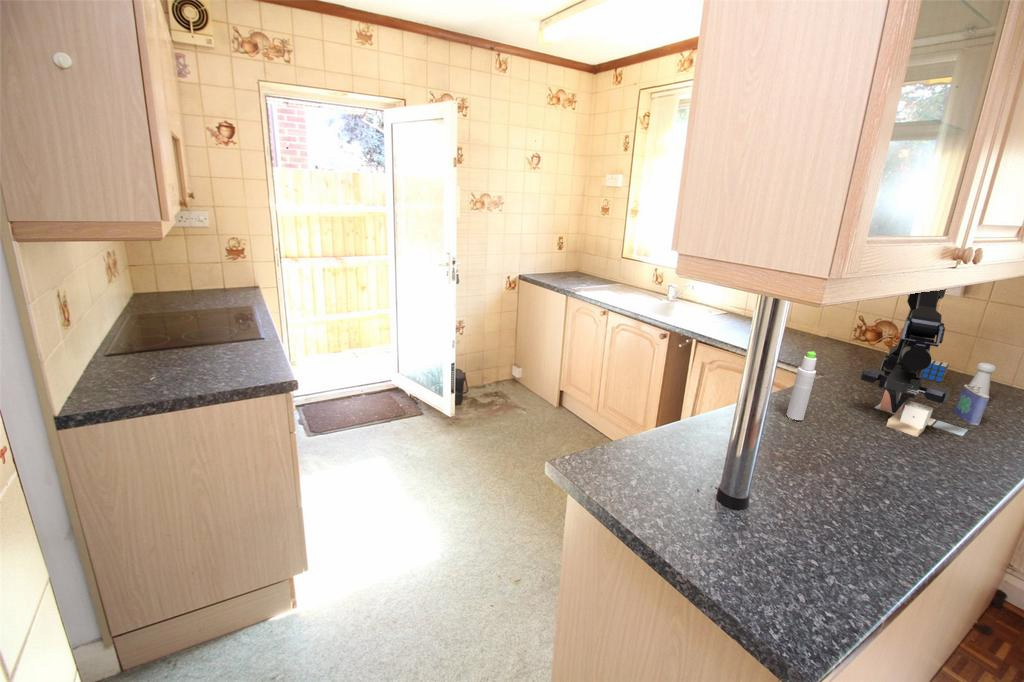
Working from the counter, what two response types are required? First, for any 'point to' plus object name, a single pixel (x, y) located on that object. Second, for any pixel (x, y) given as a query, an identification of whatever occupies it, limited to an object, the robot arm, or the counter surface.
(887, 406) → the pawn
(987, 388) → the salt shaker
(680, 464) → the counter surface
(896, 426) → the block
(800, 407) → the bottle
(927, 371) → the puzzle toy
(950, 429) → the board
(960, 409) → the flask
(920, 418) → the die
